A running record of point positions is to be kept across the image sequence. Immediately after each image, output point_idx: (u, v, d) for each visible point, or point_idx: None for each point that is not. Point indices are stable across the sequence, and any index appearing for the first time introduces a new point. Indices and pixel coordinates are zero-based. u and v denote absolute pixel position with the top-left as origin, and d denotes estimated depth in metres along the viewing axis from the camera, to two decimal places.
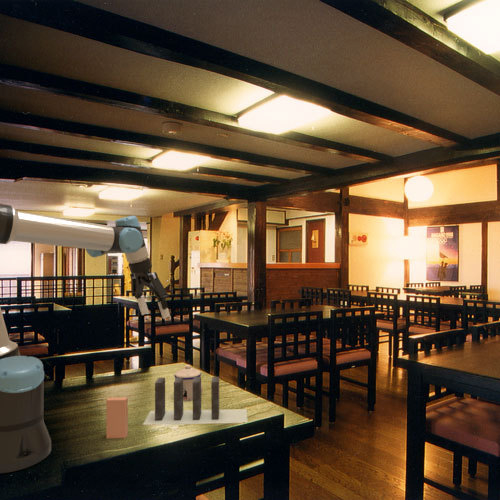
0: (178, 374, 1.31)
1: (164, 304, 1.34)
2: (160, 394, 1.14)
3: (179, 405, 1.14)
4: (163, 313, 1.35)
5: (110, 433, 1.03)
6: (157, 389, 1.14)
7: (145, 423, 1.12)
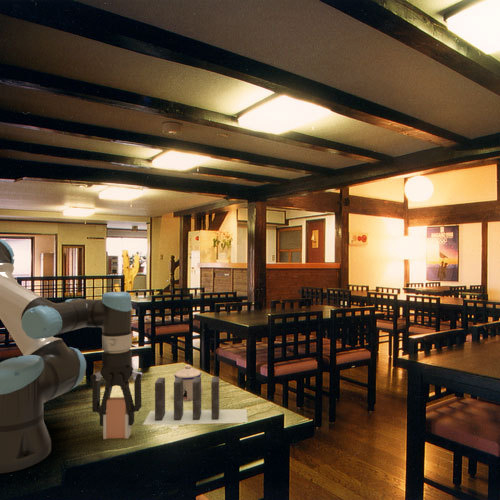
0: (178, 374, 1.31)
1: None
2: (160, 394, 1.14)
3: (179, 405, 1.14)
4: None
5: (110, 433, 1.03)
6: (157, 389, 1.14)
7: (145, 423, 1.12)
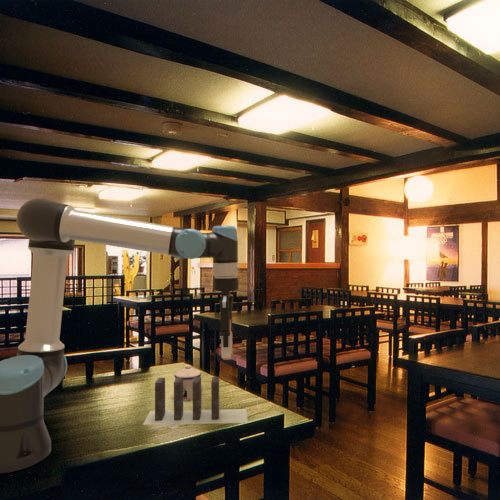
0: (178, 374, 1.31)
1: (224, 341, 1.12)
2: (160, 394, 1.14)
3: (179, 405, 1.14)
4: (222, 351, 1.13)
5: None
6: (157, 389, 1.14)
7: (145, 423, 1.12)
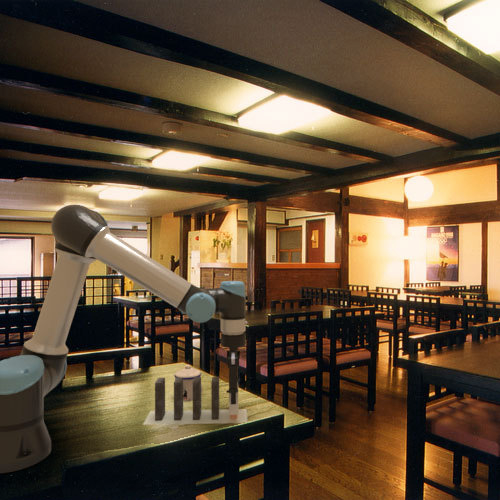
0: (178, 374, 1.31)
1: (232, 398, 1.11)
2: (160, 394, 1.14)
3: (179, 405, 1.14)
4: (230, 408, 1.12)
5: None
6: (157, 389, 1.14)
7: (145, 423, 1.12)
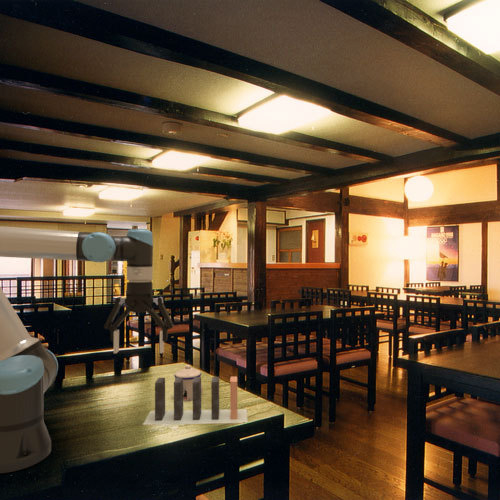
0: (178, 374, 1.31)
1: None
2: (160, 394, 1.14)
3: (179, 405, 1.14)
4: None
5: None
6: (157, 389, 1.14)
7: (145, 423, 1.12)
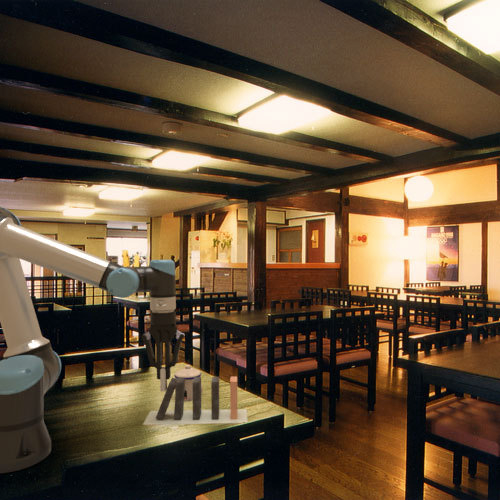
0: (178, 374, 1.31)
1: None
2: (170, 395, 1.14)
3: (180, 405, 1.14)
4: None
5: None
6: (169, 389, 1.14)
7: (145, 423, 1.12)
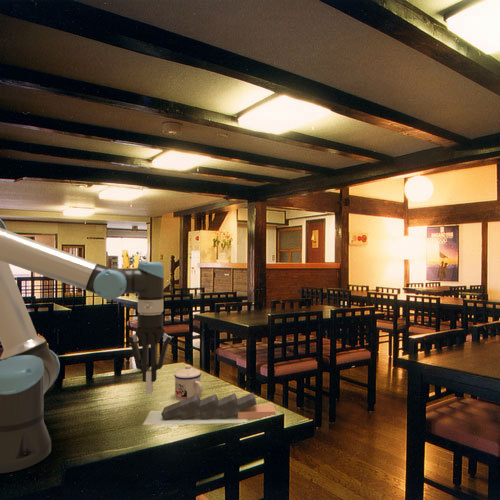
0: (178, 374, 1.31)
1: None
2: (187, 409, 1.14)
3: (195, 413, 1.14)
4: None
5: None
6: (191, 404, 1.14)
7: (145, 423, 1.12)
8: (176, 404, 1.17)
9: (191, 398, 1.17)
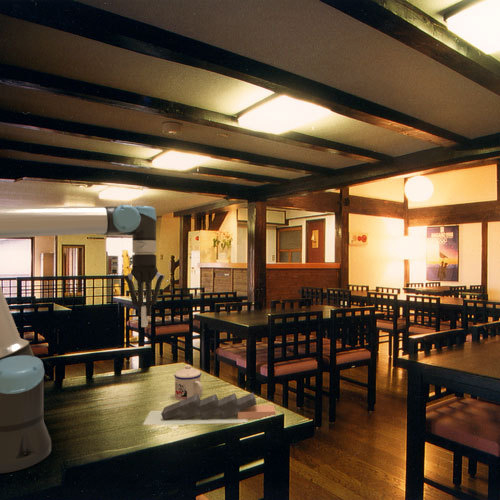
0: (178, 374, 1.31)
1: None
2: (187, 409, 1.14)
3: (195, 413, 1.14)
4: None
5: None
6: (191, 404, 1.14)
7: (145, 423, 1.12)
8: (176, 404, 1.17)
9: (191, 398, 1.17)
